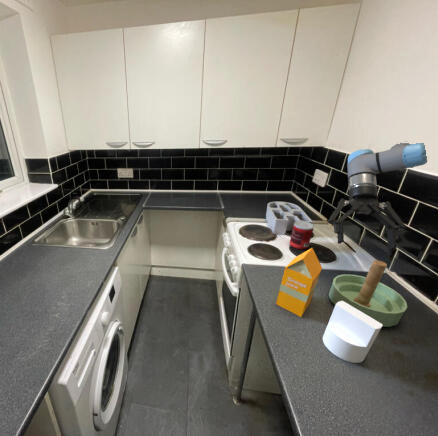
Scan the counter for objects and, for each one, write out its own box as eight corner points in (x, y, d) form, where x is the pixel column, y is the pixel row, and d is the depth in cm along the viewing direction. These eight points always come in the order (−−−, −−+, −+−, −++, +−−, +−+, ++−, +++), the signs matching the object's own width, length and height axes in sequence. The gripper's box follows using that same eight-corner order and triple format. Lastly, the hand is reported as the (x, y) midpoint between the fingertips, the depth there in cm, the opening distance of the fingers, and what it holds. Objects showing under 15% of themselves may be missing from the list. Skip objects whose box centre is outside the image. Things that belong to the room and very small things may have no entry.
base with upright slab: (315, 339, 64) (327, 307, 59) (335, 327, 67) (348, 296, 63) (352, 368, 57) (369, 335, 52) (372, 354, 60) (391, 320, 55)
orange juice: (310, 302, 76) (327, 252, 68) (301, 317, 71) (318, 264, 63) (285, 291, 82) (298, 242, 74) (275, 303, 77) (287, 253, 68)
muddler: (366, 301, 75) (385, 260, 69) (372, 310, 72) (392, 268, 65) (351, 298, 77) (368, 258, 70) (356, 306, 73) (374, 265, 67)
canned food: (308, 243, 110) (313, 223, 106) (308, 251, 104) (314, 230, 99) (289, 239, 114) (294, 219, 109) (288, 247, 108) (293, 226, 103)
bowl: (382, 294, 79) (389, 280, 76) (411, 336, 64) (421, 320, 62) (322, 283, 85) (326, 270, 82) (337, 318, 70) (343, 304, 68)
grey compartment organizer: (272, 234, 119) (275, 219, 116) (262, 213, 144) (265, 200, 140) (308, 237, 115) (313, 222, 112) (292, 215, 140) (295, 202, 136)
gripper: (400, 196, 82) (407, 254, 75) (317, 191, 91) (317, 242, 84) (416, 186, 75) (425, 248, 69) (324, 182, 84) (325, 236, 78)
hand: (365, 245), depth 76 cm, fingers open, 13 cm apart
